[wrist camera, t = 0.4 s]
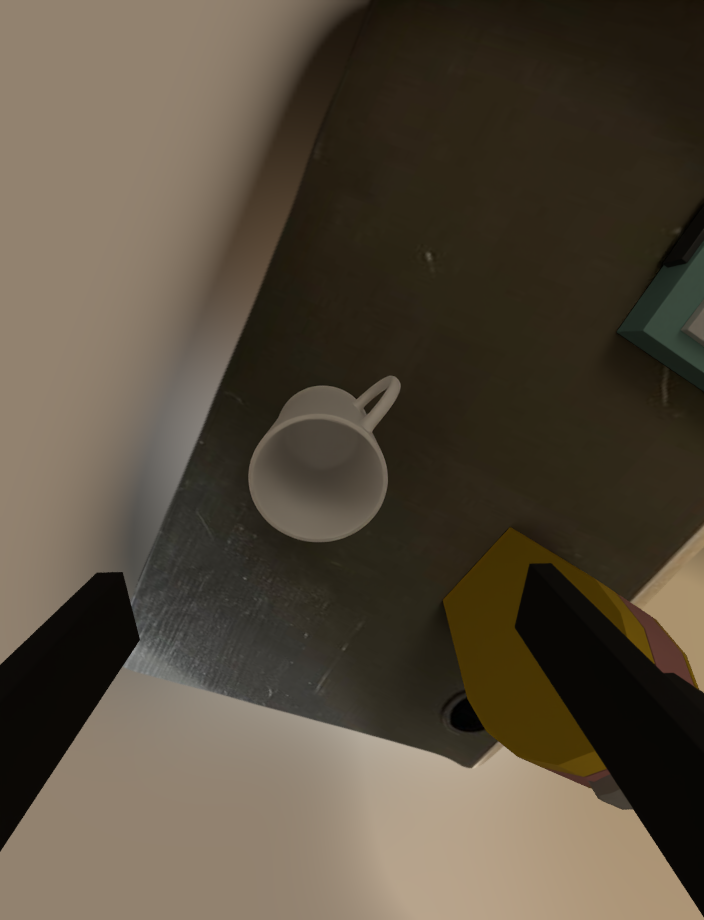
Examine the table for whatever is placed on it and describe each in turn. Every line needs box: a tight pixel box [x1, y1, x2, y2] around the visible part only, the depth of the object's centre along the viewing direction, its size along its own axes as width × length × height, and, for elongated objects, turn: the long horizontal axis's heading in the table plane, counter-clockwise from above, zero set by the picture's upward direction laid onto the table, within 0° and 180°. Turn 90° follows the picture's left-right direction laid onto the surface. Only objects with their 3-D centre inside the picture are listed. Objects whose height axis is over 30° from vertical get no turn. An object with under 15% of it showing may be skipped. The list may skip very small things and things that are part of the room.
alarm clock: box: [443, 527, 699, 809], centre depth 28 cm, size 15×8×18 cm, turn 146°
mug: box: [248, 376, 401, 542], centre depth 24 cm, size 12×8×12 cm
